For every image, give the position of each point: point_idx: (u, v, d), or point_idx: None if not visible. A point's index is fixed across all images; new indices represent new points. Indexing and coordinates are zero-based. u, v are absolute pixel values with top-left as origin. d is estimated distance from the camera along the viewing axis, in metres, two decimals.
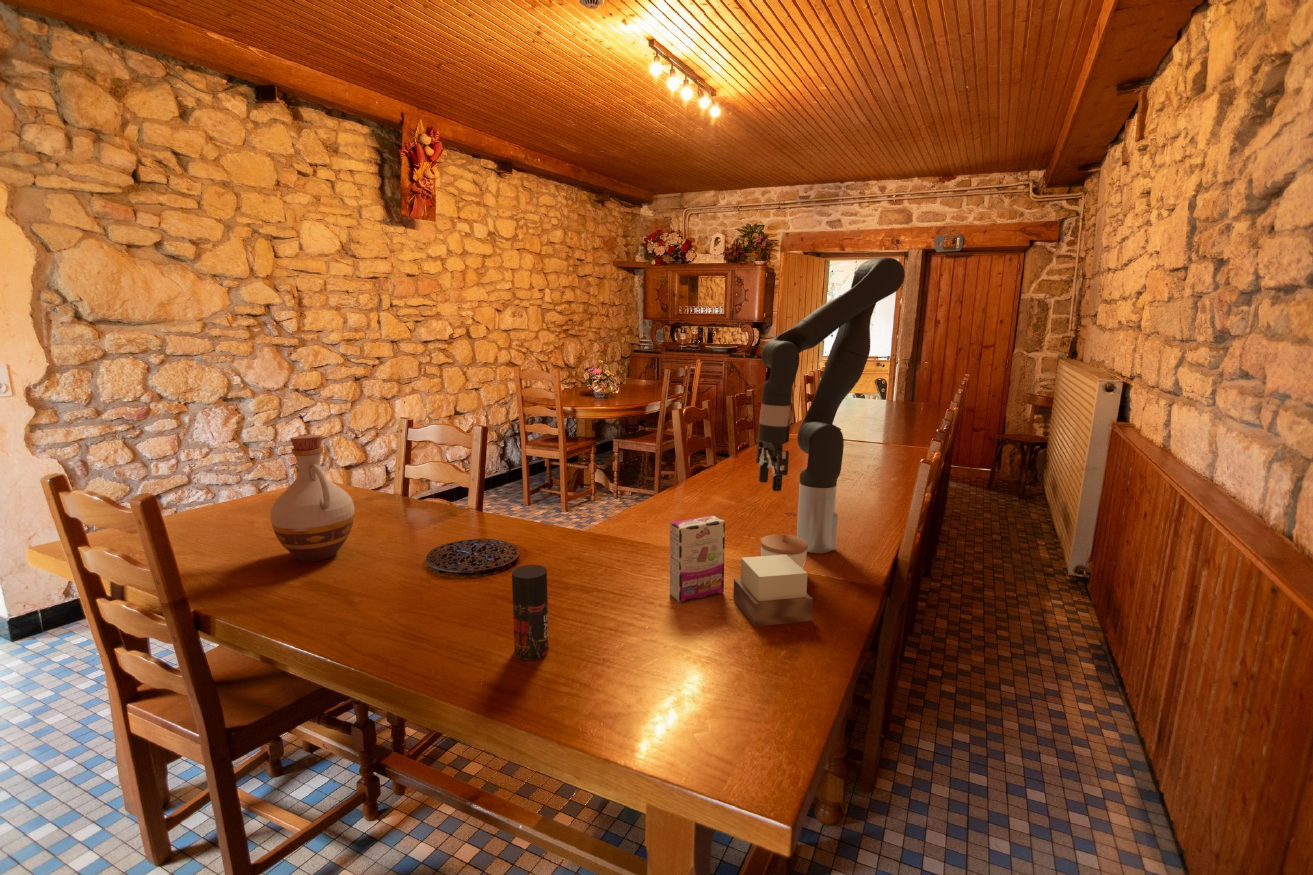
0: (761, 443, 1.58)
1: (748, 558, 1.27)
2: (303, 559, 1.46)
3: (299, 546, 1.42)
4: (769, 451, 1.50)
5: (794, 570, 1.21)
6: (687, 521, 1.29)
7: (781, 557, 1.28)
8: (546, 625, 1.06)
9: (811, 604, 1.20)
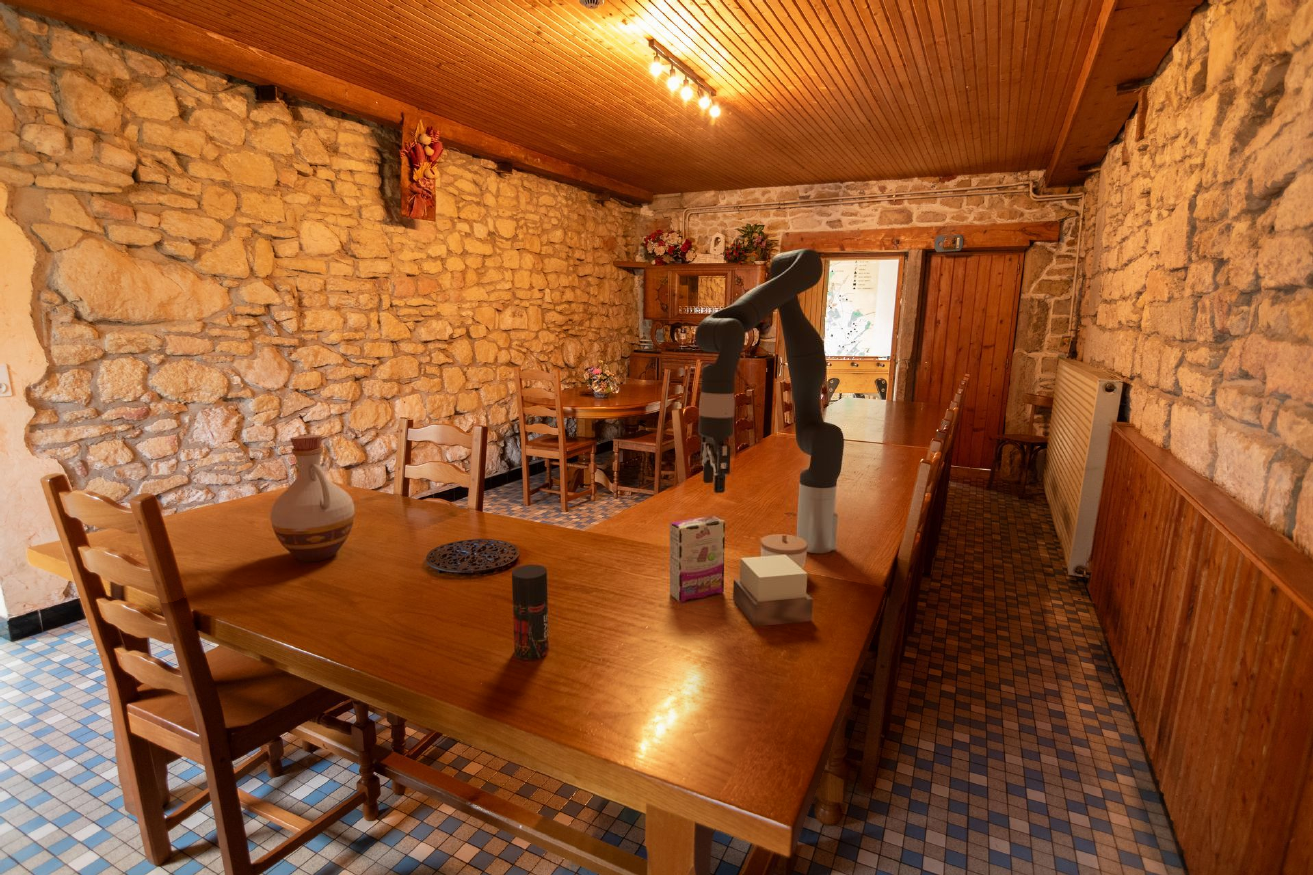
0: (705, 438, 1.37)
1: (747, 558, 1.27)
2: (303, 559, 1.46)
3: (299, 546, 1.42)
4: (710, 447, 1.30)
5: (794, 570, 1.21)
6: (687, 521, 1.29)
7: (781, 557, 1.28)
8: (546, 625, 1.06)
9: (810, 605, 1.20)
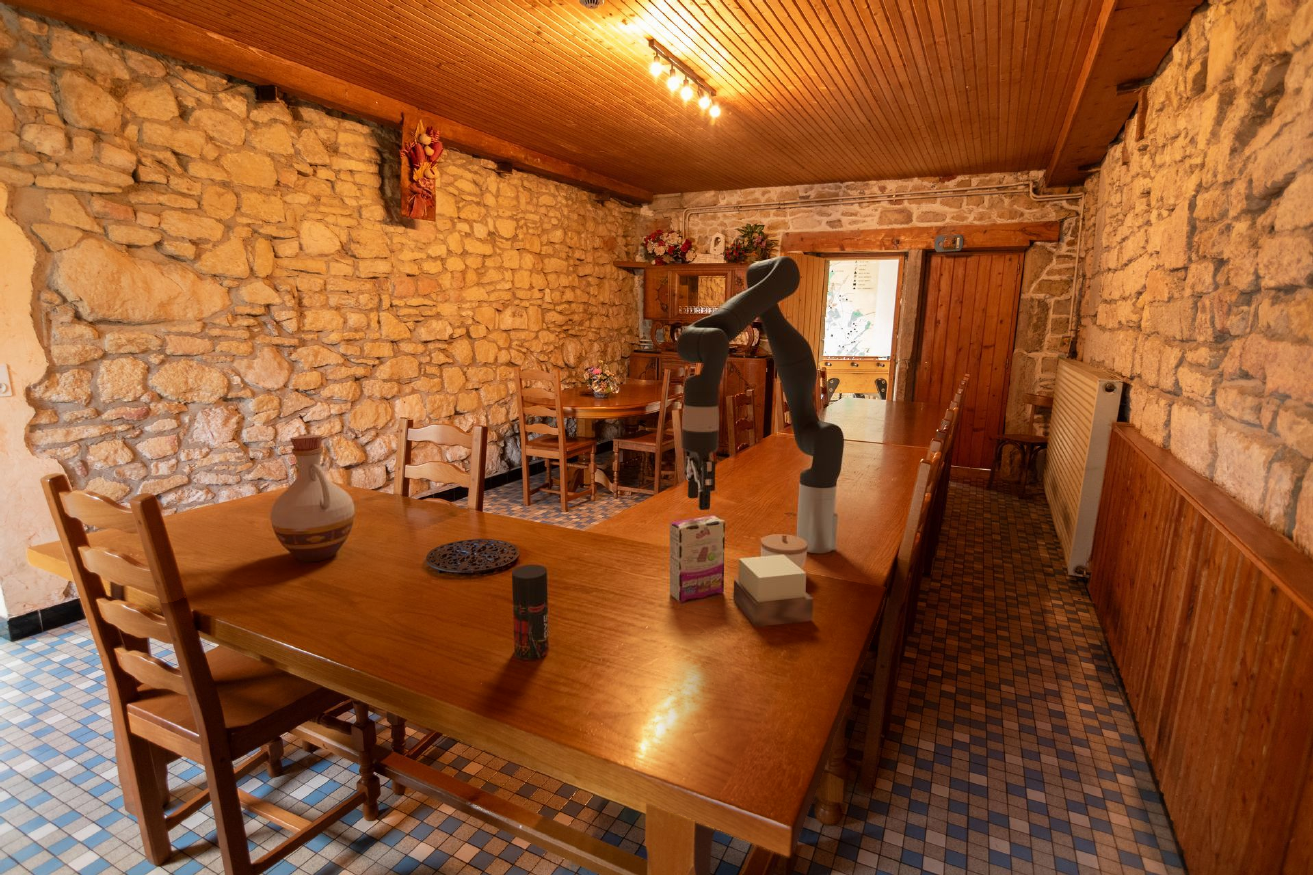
0: (689, 451, 1.32)
1: (746, 559, 1.26)
2: (303, 559, 1.46)
3: (299, 546, 1.42)
4: (694, 462, 1.25)
5: (793, 570, 1.21)
6: (687, 521, 1.29)
7: (779, 557, 1.28)
8: (546, 625, 1.06)
9: (811, 605, 1.20)
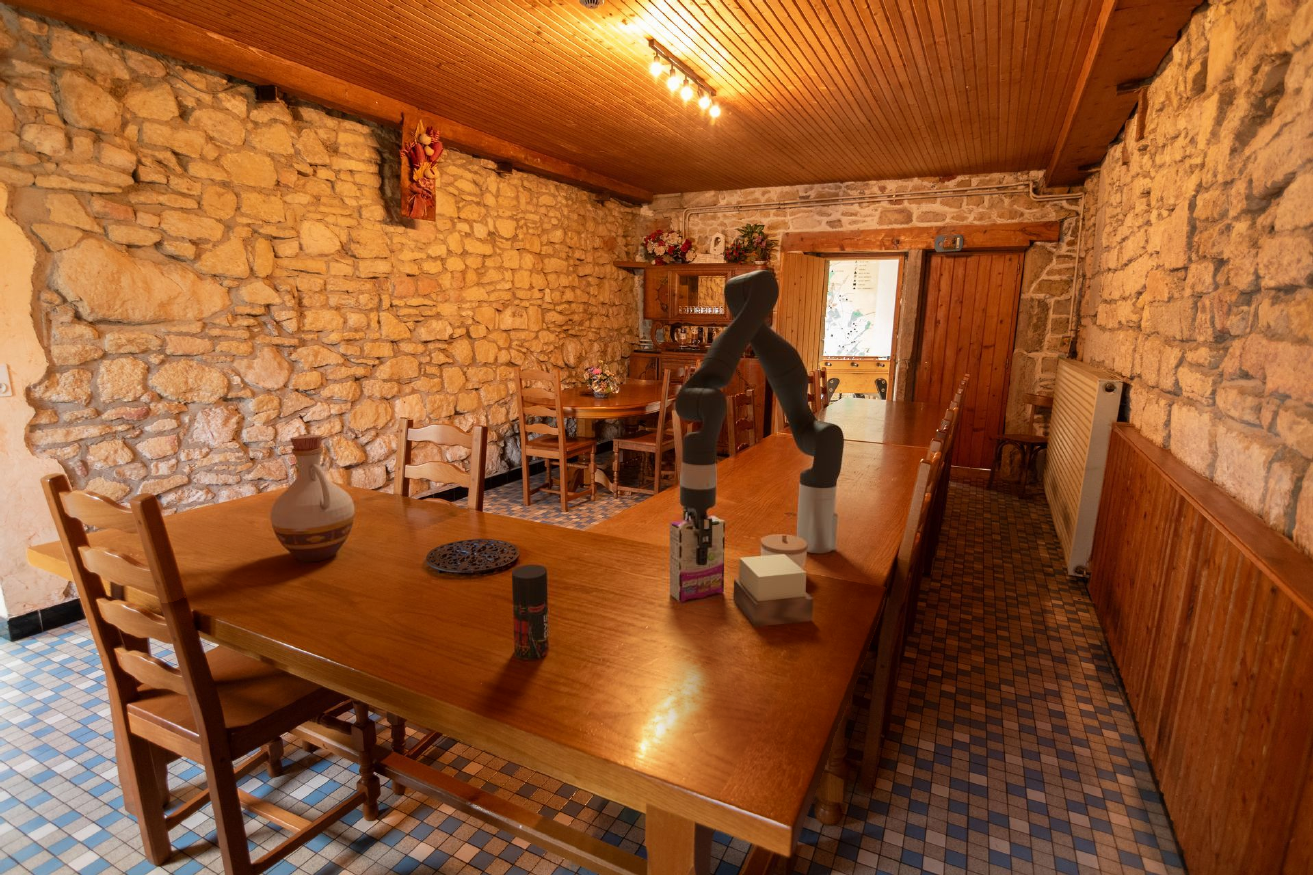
0: None
1: (746, 558, 1.27)
2: (303, 559, 1.46)
3: (299, 546, 1.42)
4: (692, 517, 1.27)
5: (793, 570, 1.21)
6: (687, 521, 1.29)
7: (779, 556, 1.28)
8: (546, 625, 1.06)
9: (811, 605, 1.20)
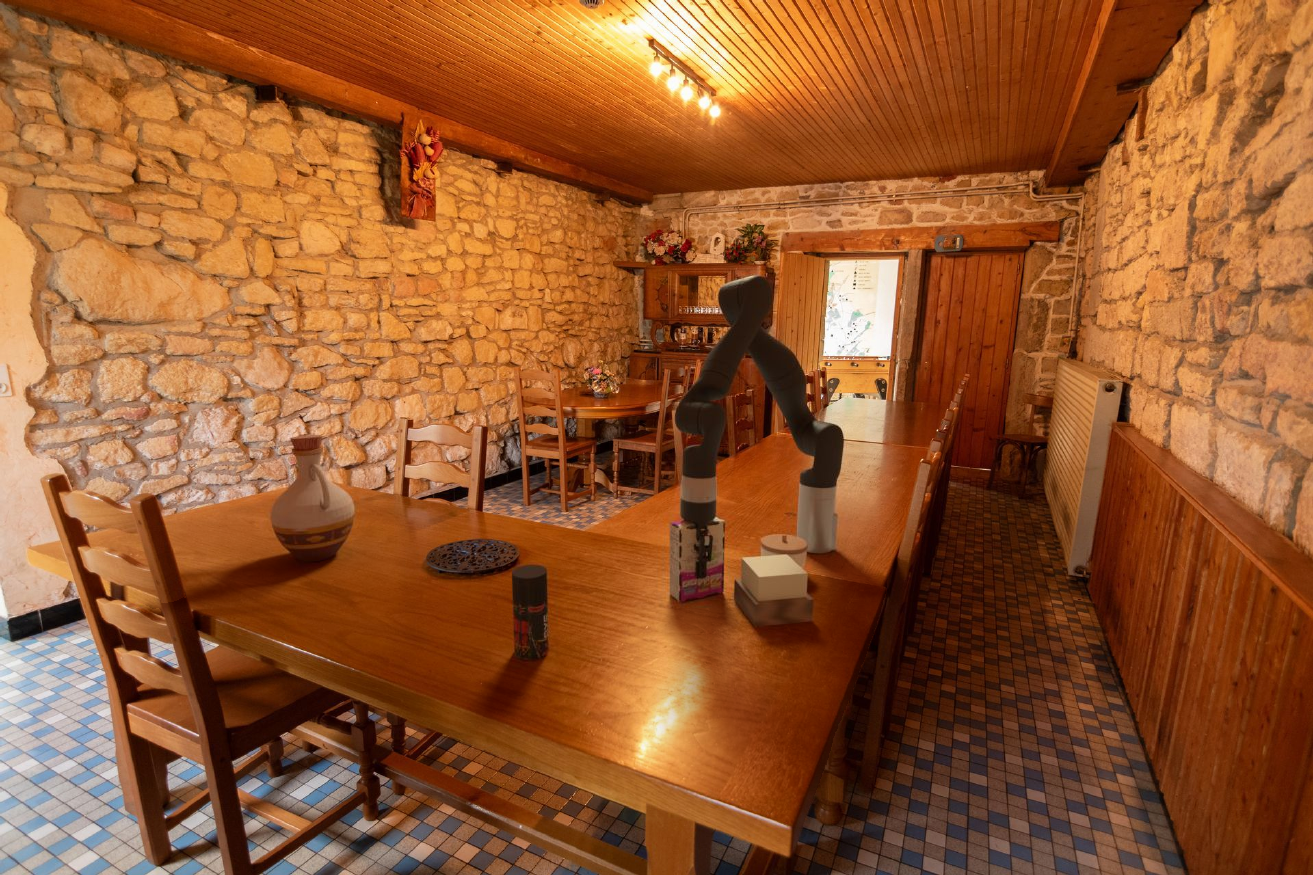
0: None
1: (748, 558, 1.27)
2: (303, 559, 1.46)
3: (299, 546, 1.42)
4: None
5: (795, 570, 1.21)
6: (687, 521, 1.29)
7: (782, 557, 1.28)
8: (546, 625, 1.06)
9: (811, 605, 1.20)
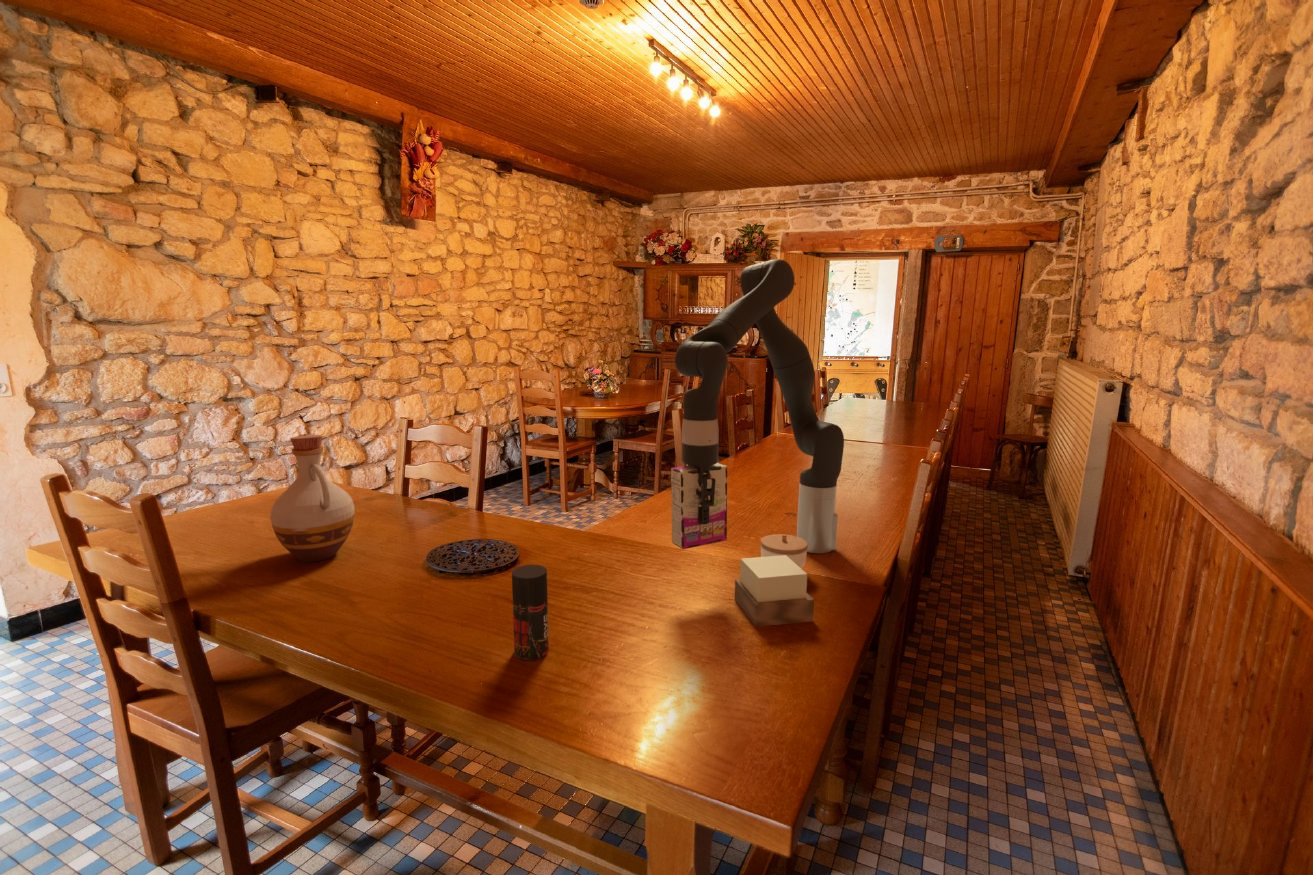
0: None
1: (747, 559, 1.27)
2: (303, 559, 1.46)
3: (299, 546, 1.42)
4: None
5: (794, 571, 1.21)
6: (689, 466, 1.27)
7: (781, 557, 1.28)
8: (546, 625, 1.06)
9: (812, 605, 1.20)
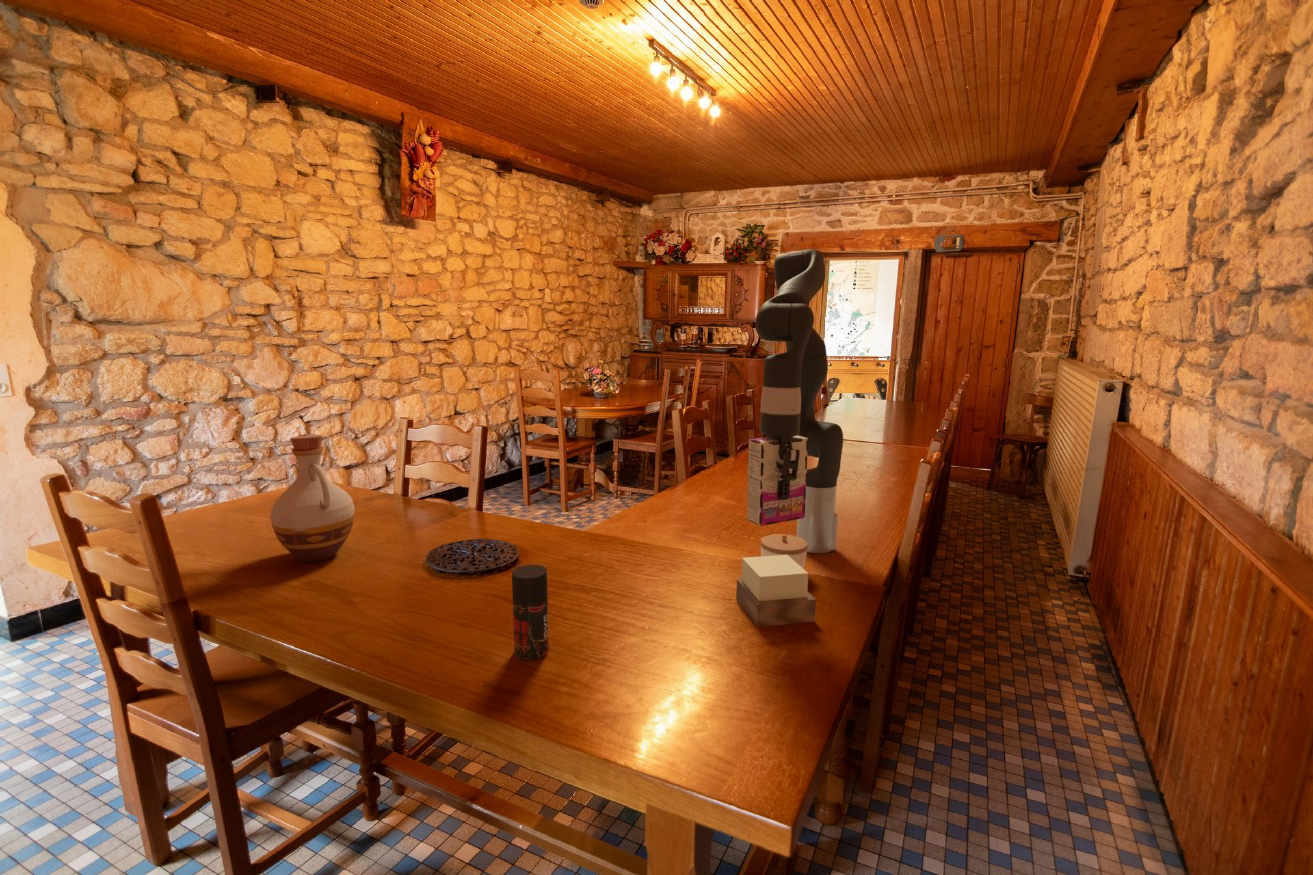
0: None
1: (749, 558, 1.27)
2: (303, 559, 1.46)
3: (299, 546, 1.42)
4: None
5: (795, 570, 1.21)
6: (767, 438, 1.19)
7: (782, 557, 1.28)
8: (546, 625, 1.06)
9: (814, 605, 1.20)
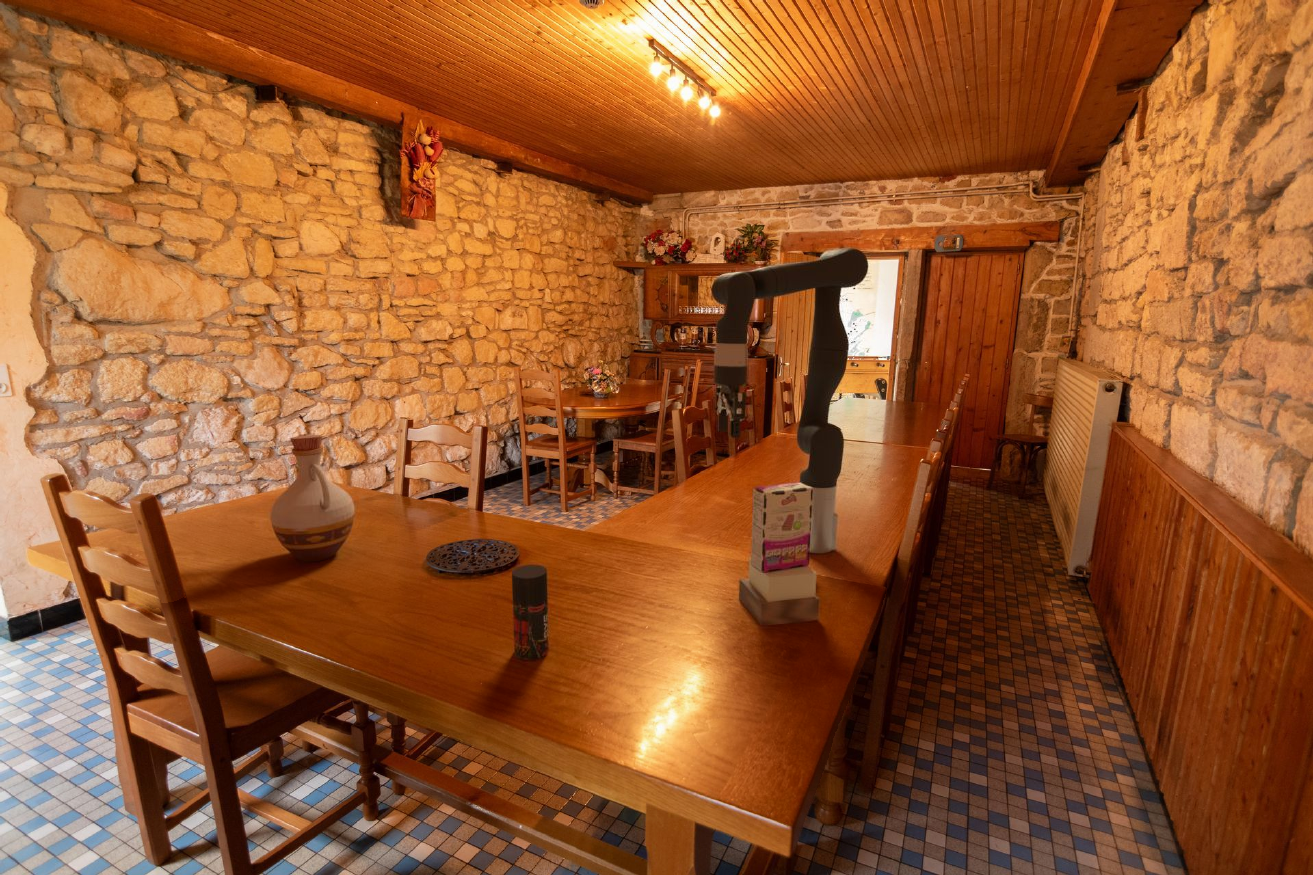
0: (719, 389, 1.45)
1: None
2: (303, 559, 1.46)
3: (299, 546, 1.42)
4: (725, 395, 1.38)
5: (803, 570, 1.21)
6: (772, 487, 1.21)
7: None
8: (546, 625, 1.06)
9: (817, 604, 1.20)
